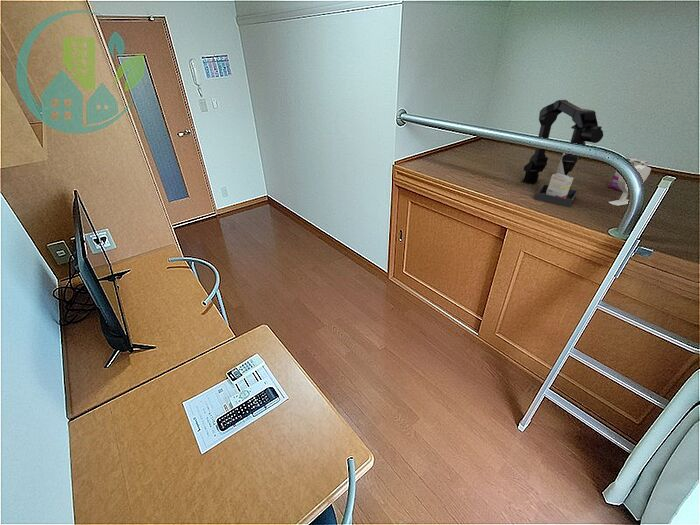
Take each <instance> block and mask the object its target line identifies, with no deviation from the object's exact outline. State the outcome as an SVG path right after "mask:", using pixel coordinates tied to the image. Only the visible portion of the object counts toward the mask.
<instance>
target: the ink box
mask: <svg viewBox="0 0 700 525" xmlns="http://www.w3.org/2000/svg"><path fill="white" fill-rule="evenodd" d="M556 173H557V172H556ZM556 173H553V174H552V175H551V177H550V180H549V182H548V185H549V186H548V189H547V191H545V194H547V195H552V196H556V197H561V198H566V199H567V197H568V196H567V194H568V191H569V189H571V186H572V184H573V181H574V177H572V176H570V175H568V176H566V175H563V174H560V173H557V174H556Z"/></svg>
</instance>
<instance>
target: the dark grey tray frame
mask: <svg viewBox="0 0 700 525" xmlns="http://www.w3.org/2000/svg"><path fill="white" fill-rule="evenodd" d="M548 186H549V184H546V183H544V184H543V185H542V186H541V187H540V188H539V189H538V190H537V191H536V193H535V196H534V200H537V201H542V202H546V203H549V204H555V205H560V206H564V207H568V208H570V207H571V206H572V204H573V202H574V200H575V198H576V197H577V194H578V192H579V191H578V189H573V188H570V189H569V191H568V194H567V197H572V198H571V199H570V198H567V197H566V198H561V197H556V196H552V195H547V194H546V193H543V192H547V189H548Z"/></svg>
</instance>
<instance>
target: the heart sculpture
mask: <svg viewBox="0 0 700 525" xmlns="http://www.w3.org/2000/svg"><path fill="white" fill-rule="evenodd" d="M635 168H636V169H637V171H638V172H639V173H640V175H641V177H642V179H643V183H644V182H645V181H646V180H647V179H648V177H649V175H650V173H651V172H652V168H651V167H649V166H648V167H647V166H643V165H637V166H635ZM618 186H619V188H620V189H621V190H622V191H621V192H622V193H621V195H620V197H619V199H615V200H612V201H608V203H609V204H611V205H612V206H617V207H619V206H624V205H629V204H628V201H629V200H630V199H628V198H627V197H628V195H629V193H628V187H627V184H626V182H625V180H624V179H623V177H622V176H621V175H620V176H619V179H618Z"/></svg>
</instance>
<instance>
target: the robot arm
mask: <svg viewBox="0 0 700 525" xmlns="http://www.w3.org/2000/svg"><path fill="white" fill-rule="evenodd" d="M562 113H564V114H566V115H567V116H569V117H571V121H572V122H573V123H574V125H572V126H570V128H571V129H572V130H573V132H572V136H571V138H570V141H569V142H571V143H577V144H582V145H585V146H586V144H587V143H592V144H598V143H599V142H600V141H601V140H602V139H603V138H604V131H603V130H602V127H603V126H602V125H601V126H600V125H599V124H598V123H599V122H598V119H597V113H596V111H595V110H593V109H587V108H581V107H579V106H577V105H575V104H573V103H572V102H569V101H568V100H567V99H557V100H555V101H554V102H552V103H550V104H548V105H546V106H544V107H542V108H541V109H540V110H539V114H538V115H539V116H538V122H539V124H540V127H539V132H538V136H537V138H538V137H543V138H548V139H549V138H550V133H551V129H552V126H553V125H554V123H555V122H556V120H558V116H559V115H561V114H562ZM593 146H594V147H596V146H595V145H593ZM546 151H547V149H546V150H545V149H539V148H536V147H535V150H534V153H533V154H532V156H531V157H530V158H529V162H527V163H526V164H525V165H524V166H523V171H525V174H524V177H523V179H522V181H521V182H523V183H527V184H531V185H534V184H536V183H537V182H538V180H539V177H540V173H542V172H543V171H544V170H545V168H546V166H547V165H548V160H549V157H547V156H546ZM561 158H562V163H563V168H564V174H565V175H568V176H569V174H570V172H572V171H573V169H574V168H575V165H576V164H577V163H578V161H580V160H581V159H582V158H583V157H581V156H580V155H579V156H575V155H572V154H567V153H566V154H565V155H564V156H562V155H561ZM568 173H569V174H568Z"/></svg>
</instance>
